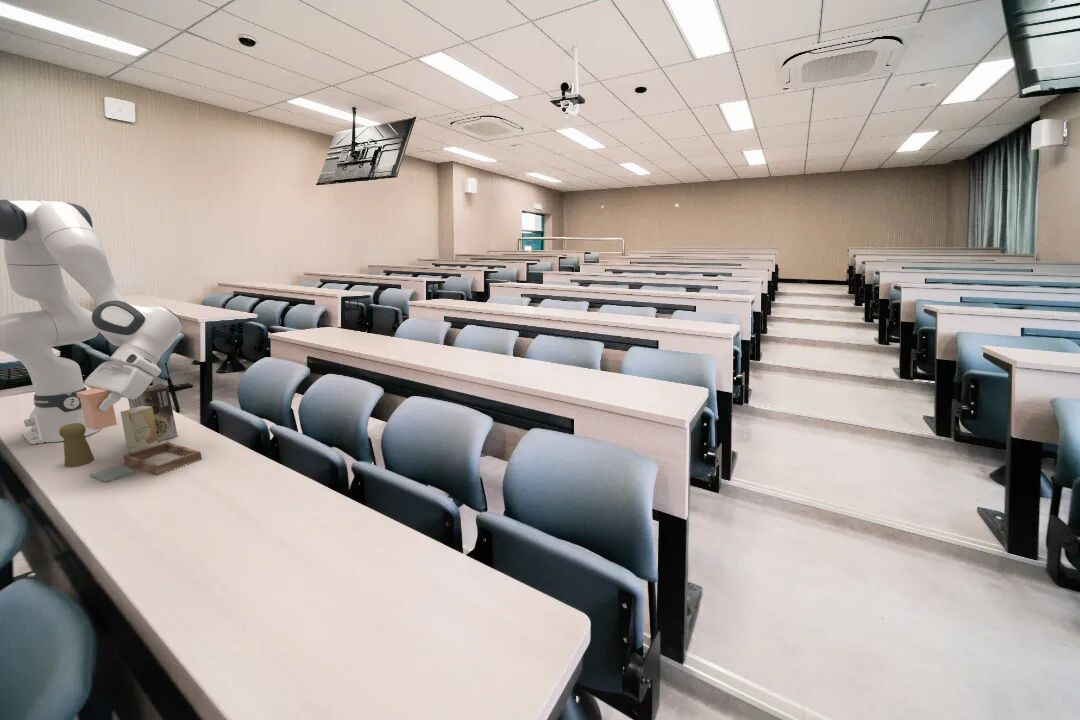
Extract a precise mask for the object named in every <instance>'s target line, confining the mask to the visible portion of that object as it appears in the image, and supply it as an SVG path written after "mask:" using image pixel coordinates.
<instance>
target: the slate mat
mask: <svg viewBox="0 0 1080 720" xmlns="http://www.w3.org/2000/svg"><path fill="white" fill-rule="evenodd" d="M132 473H133V474H134V473H135V471H134V470H133V469H129V468H126V467H124V466H122V465H118V464H117V465H114V466H110V467H107V468H105V469H102V470H98V471H95V472H92V473H89V477H91V478H93V479H96V480H99V481H101V482H103V483H110V482H111V481H115V480H117V479H121V478H123V477H126V476H127V477H128V476H129V475H132Z"/></svg>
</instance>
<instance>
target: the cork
mask: <svg viewBox="0 0 1080 720" xmlns="http://www.w3.org/2000/svg"><path fill="white" fill-rule="evenodd" d="M85 431H86V428H85V426H84V425H83V424H81V423H72V424H68V425H64V426H62V427H61V428H60V430H59V434H60V436H61V437H63V438H64V441H63V451H64V452H63V453H64V455H63V457H64V467H66V468H76V467H81V466H86V465H89V464H90V463H92V461H93V462H94V461H95V457H94V454H93V452H92V450H91V448H90V445H89V443H88V440H87V439H86V436H85V435H84V433H85ZM85 464H86V465H85Z"/></svg>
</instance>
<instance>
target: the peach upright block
mask: <svg viewBox="0 0 1080 720" xmlns="http://www.w3.org/2000/svg"><path fill="white" fill-rule="evenodd" d="M110 393H111V392H110V391H107V390H103V389H99V388H95V389H92V388H89V389H87V390H85V391H80V392H76V395H77V397H79V398H80V401H81V406H82V410H83V415H84V419H85V424H86V427H87V428H90V429H93V430H98V429H100V430H102V429H105V428H109V427H113V426H116V425H118V423H117V422H118V421H117V419H116V417H117V416H116V413H115V409H114V404H113V405H112V406H111V407H110V408H109V409H108V410H107V411H102V410H100V409H98V408H97V406H98V405H99V404H100V402H103V401H104V400H105V399H107V398H108V397H109V396H108V395H109V394H110ZM98 431H99V430H98Z"/></svg>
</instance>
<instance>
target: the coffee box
mask: <svg viewBox="0 0 1080 720" xmlns="http://www.w3.org/2000/svg"><path fill="white" fill-rule="evenodd" d="M170 395H171V394H170V391H169V387H168V386H167V385H165V384H163V383H159V384H153V385H149V386H148V387H147V388H146V390H145V391H144V392H143V393H142V394H141V395H140V396H139V397H137V398H136V399H134V400H132V399H128V398H127V400H128V405H129V409H131V408H136V407H139V406H149V407H152V408H153V414H154V420H155V426H156V432H157V438H158V442H160V441H164V440H168V439H171V438H177V437H178V431H177V427H176V421H175V416H174V411H173V407H172V402H171V396H170Z"/></svg>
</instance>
